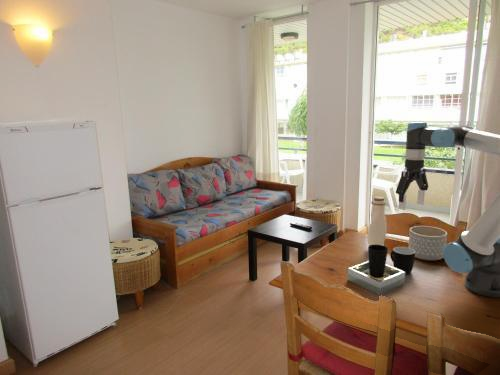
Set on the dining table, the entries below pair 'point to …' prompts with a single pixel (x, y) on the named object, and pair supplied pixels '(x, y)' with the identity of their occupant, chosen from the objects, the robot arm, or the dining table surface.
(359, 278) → the grey square tray
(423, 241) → the planter
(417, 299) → the dining table surface
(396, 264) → the mug
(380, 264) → the cup
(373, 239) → the water bottle
